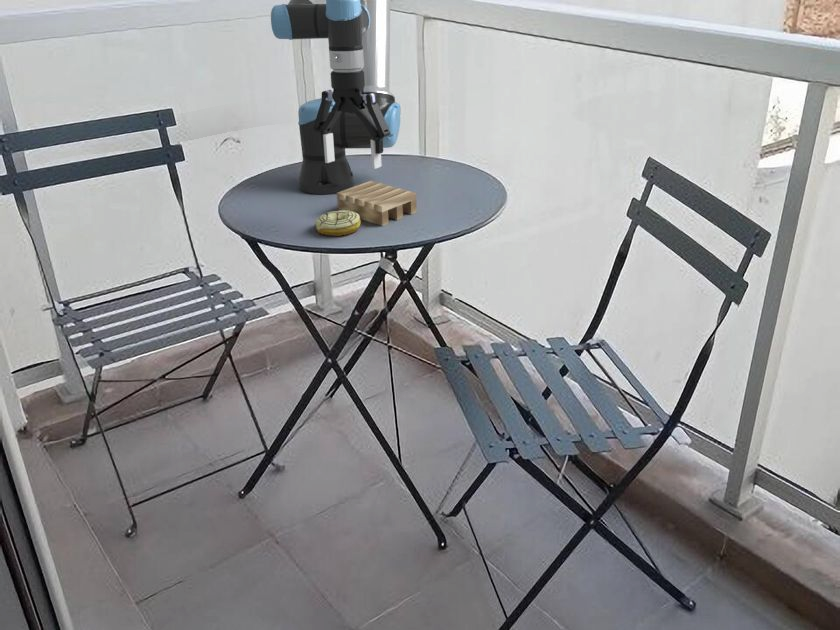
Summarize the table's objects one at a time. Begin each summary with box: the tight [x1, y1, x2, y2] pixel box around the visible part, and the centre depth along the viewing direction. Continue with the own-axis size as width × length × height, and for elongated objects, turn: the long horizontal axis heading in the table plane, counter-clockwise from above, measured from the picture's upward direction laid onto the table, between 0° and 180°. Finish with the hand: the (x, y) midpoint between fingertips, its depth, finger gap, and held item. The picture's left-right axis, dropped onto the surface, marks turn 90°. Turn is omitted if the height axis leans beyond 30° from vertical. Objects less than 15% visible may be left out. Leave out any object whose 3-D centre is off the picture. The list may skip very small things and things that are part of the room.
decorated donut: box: [314, 210, 362, 237], centre depth 194 cm, size 10×11×4 cm
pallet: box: [336, 180, 418, 227], centre depth 203 cm, size 16×12×5 cm
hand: (353, 164), depth 189 cm, fingers open, 13 cm apart
